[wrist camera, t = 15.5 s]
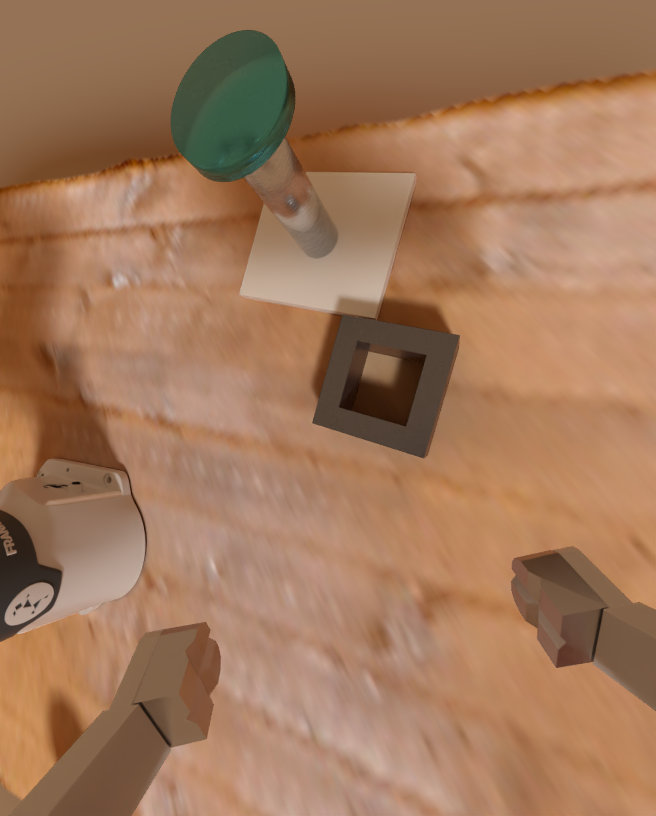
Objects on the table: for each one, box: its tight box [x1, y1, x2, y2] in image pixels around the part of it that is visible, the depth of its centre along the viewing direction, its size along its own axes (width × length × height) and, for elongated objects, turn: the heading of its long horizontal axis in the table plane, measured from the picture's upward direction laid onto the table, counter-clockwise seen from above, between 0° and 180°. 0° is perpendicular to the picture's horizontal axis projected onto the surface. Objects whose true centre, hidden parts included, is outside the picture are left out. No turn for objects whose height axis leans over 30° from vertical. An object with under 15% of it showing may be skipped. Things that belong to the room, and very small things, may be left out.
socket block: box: [312, 315, 460, 458], centre depth 30 cm, size 10×10×4 cm
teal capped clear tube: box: [171, 30, 338, 258], centre depth 27 cm, size 8×8×16 cm
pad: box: [239, 172, 417, 321], centre depth 35 cm, size 16×14×1 cm
